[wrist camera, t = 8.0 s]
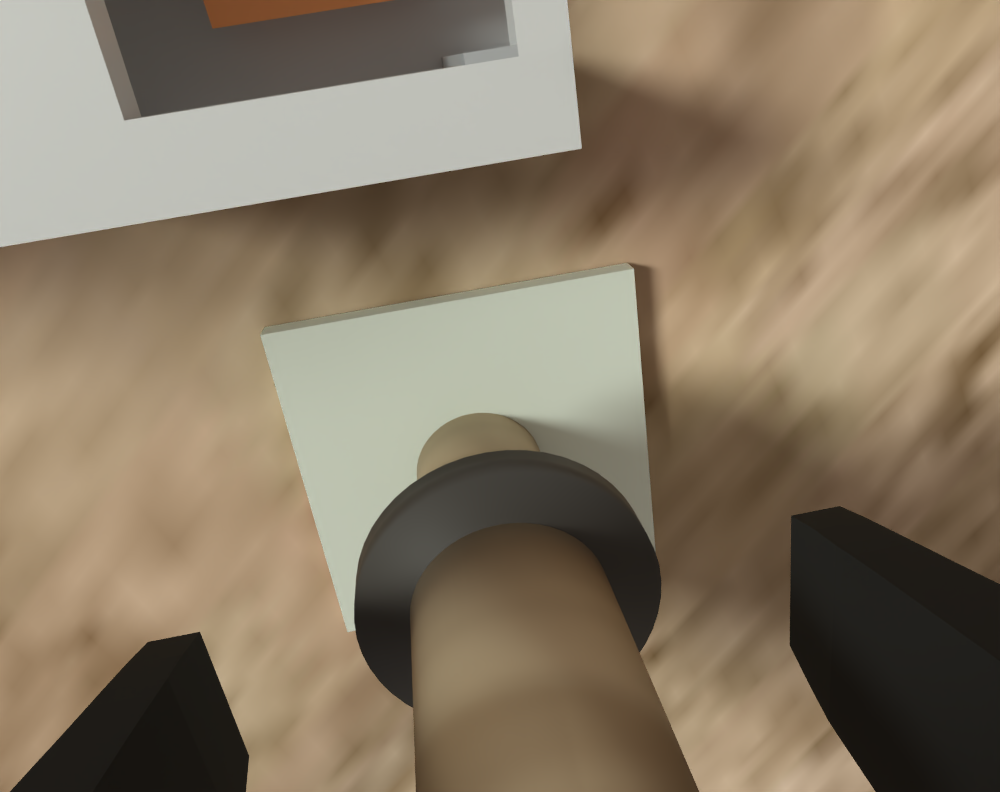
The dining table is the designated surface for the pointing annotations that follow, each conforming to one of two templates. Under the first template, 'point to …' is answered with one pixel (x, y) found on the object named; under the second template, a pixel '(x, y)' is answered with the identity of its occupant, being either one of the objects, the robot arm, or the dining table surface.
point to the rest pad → (459, 392)
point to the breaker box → (263, 103)
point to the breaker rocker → (269, 9)
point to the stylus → (517, 620)
